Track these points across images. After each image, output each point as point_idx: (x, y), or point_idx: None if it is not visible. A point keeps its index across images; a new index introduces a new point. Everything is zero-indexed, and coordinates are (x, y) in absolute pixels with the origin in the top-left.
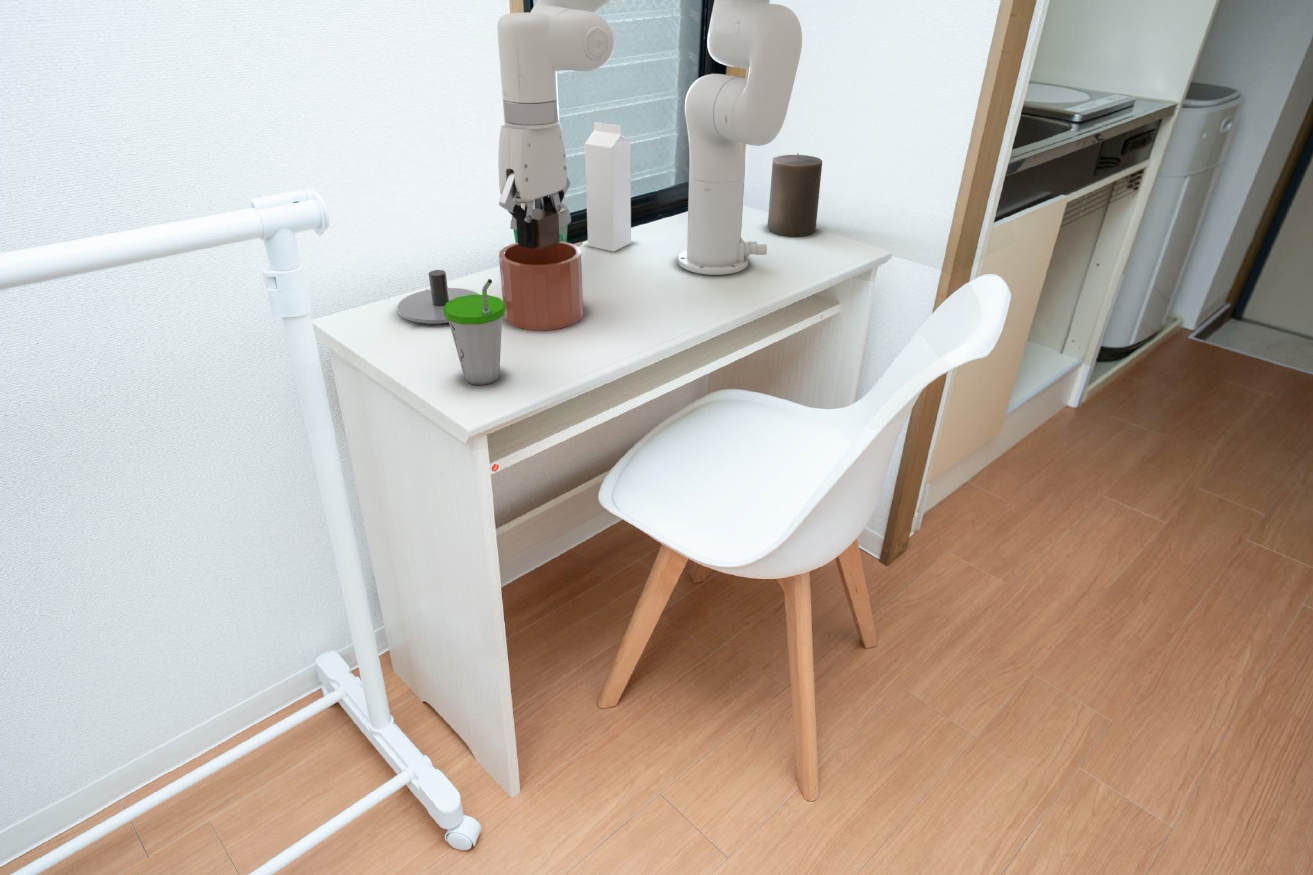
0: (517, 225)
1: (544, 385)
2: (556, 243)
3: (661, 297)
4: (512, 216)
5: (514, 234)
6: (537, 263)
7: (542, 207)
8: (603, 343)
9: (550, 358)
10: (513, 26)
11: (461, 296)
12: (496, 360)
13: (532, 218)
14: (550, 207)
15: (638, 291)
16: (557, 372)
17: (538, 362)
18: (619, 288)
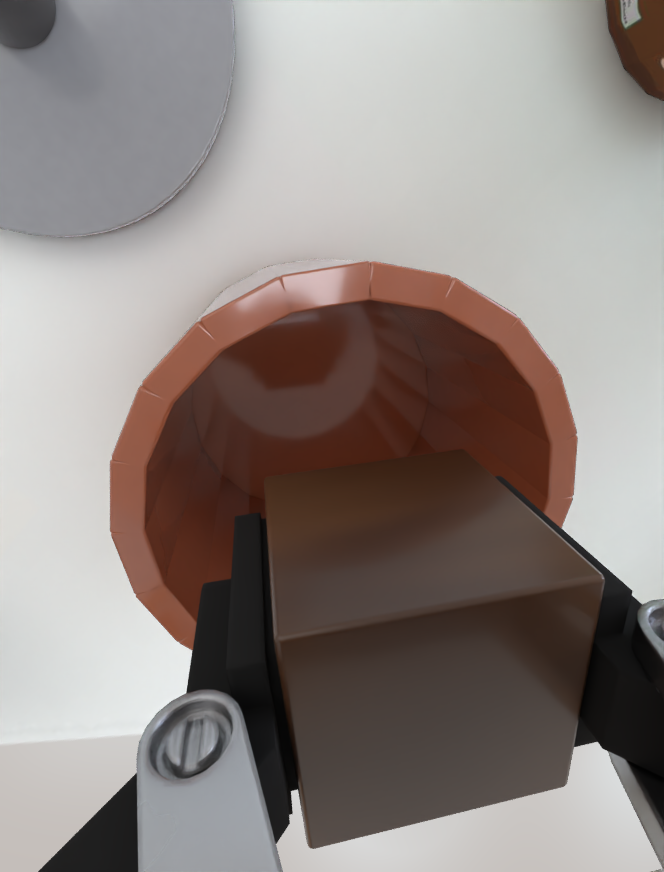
0: (189, 680)
1: (11, 714)
2: (545, 442)
3: (605, 540)
4: (139, 745)
5: None
6: (441, 327)
7: (641, 624)
8: None
9: (117, 626)
10: None
11: (146, 17)
12: None
13: (305, 803)
14: (624, 741)
15: (617, 472)
16: (81, 686)
17: (76, 625)
18: (614, 417)
